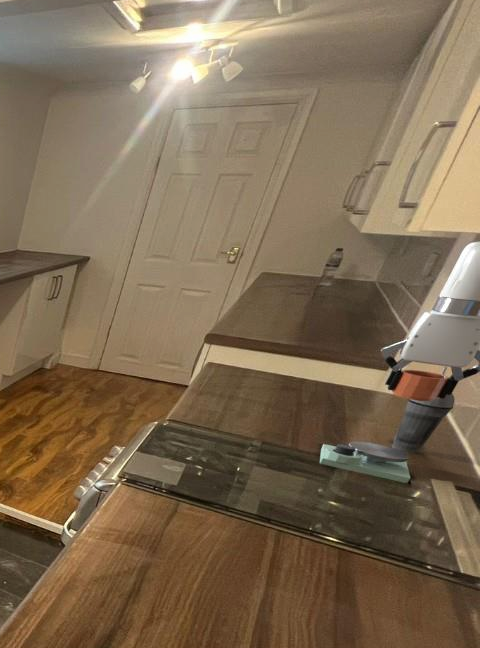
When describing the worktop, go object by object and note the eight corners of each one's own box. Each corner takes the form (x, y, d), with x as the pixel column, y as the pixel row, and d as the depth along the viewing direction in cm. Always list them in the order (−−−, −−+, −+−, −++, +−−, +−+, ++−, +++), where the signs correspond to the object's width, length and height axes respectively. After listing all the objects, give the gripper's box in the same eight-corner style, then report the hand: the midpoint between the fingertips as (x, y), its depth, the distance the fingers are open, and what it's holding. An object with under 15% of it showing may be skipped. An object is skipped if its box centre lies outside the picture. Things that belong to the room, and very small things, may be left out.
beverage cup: (397, 453, 137) (443, 370, 128) (376, 442, 143) (418, 362, 134) (434, 457, 135) (483, 373, 126) (411, 445, 142) (456, 365, 133)
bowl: (434, 397, 124) (447, 374, 122) (437, 404, 120) (451, 381, 117) (389, 389, 129) (400, 368, 126) (390, 396, 124) (402, 373, 122)
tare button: (351, 453, 128) (355, 446, 128) (352, 457, 126) (355, 450, 126) (334, 450, 130) (337, 442, 130) (333, 453, 128) (337, 446, 128)
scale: (403, 467, 129) (410, 454, 128) (407, 484, 121) (414, 471, 120) (320, 449, 138) (326, 437, 136) (319, 464, 129) (325, 452, 128)
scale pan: (398, 465, 130) (407, 450, 128) (401, 478, 123) (410, 462, 122) (341, 453, 136) (349, 438, 134) (341, 465, 129) (349, 449, 128)
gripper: (523, 312, 113) (472, 398, 121) (399, 300, 124) (359, 380, 131) (531, 316, 108) (477, 406, 116) (401, 304, 119) (359, 387, 127)
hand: (415, 392), depth 124 cm, fingers closed on bowl, 7 cm apart
